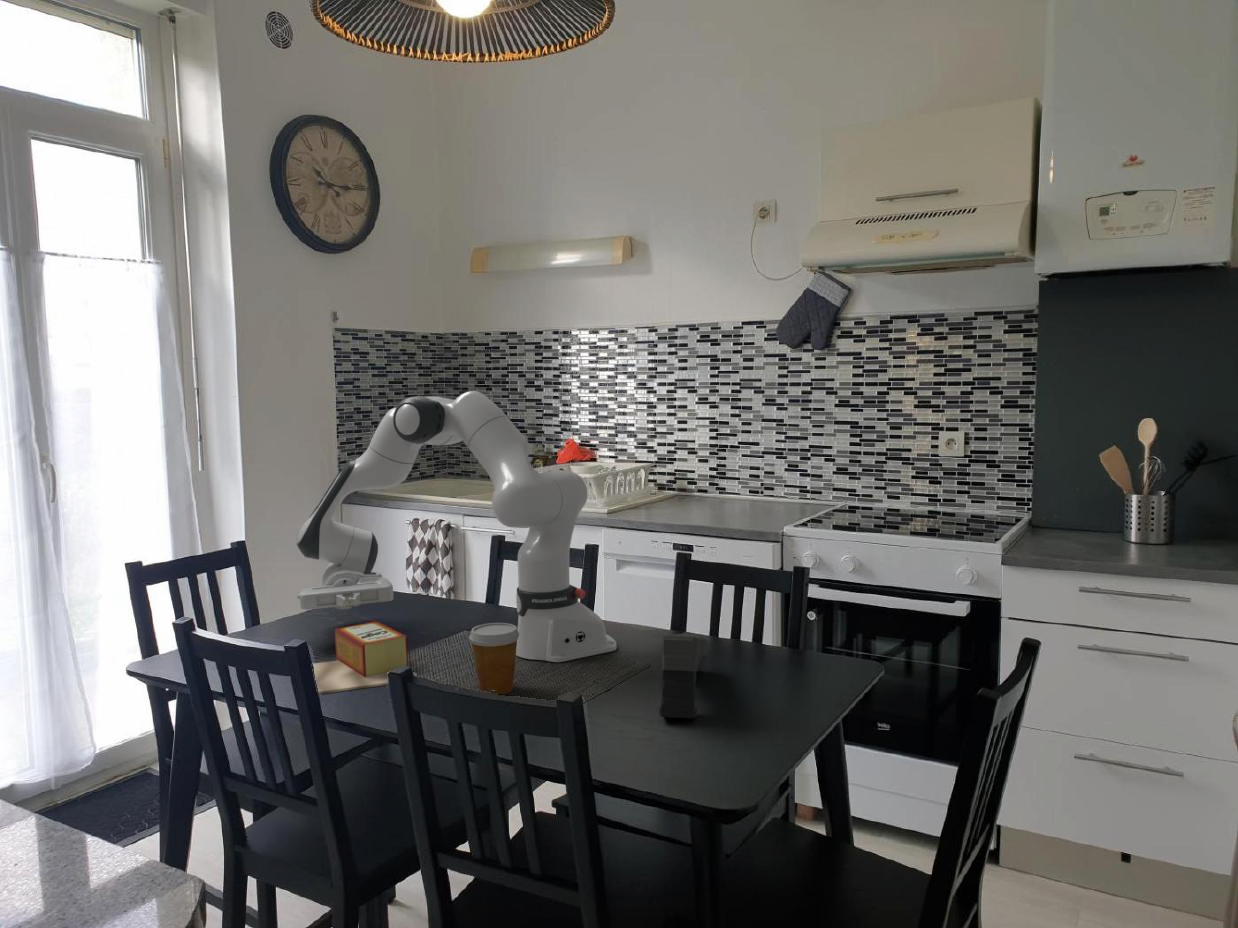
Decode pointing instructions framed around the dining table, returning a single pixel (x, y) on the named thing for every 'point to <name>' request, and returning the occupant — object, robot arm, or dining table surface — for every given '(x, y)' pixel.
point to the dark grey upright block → (681, 673)
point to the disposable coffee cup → (495, 656)
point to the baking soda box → (371, 648)
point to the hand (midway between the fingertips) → (349, 602)
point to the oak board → (343, 678)
